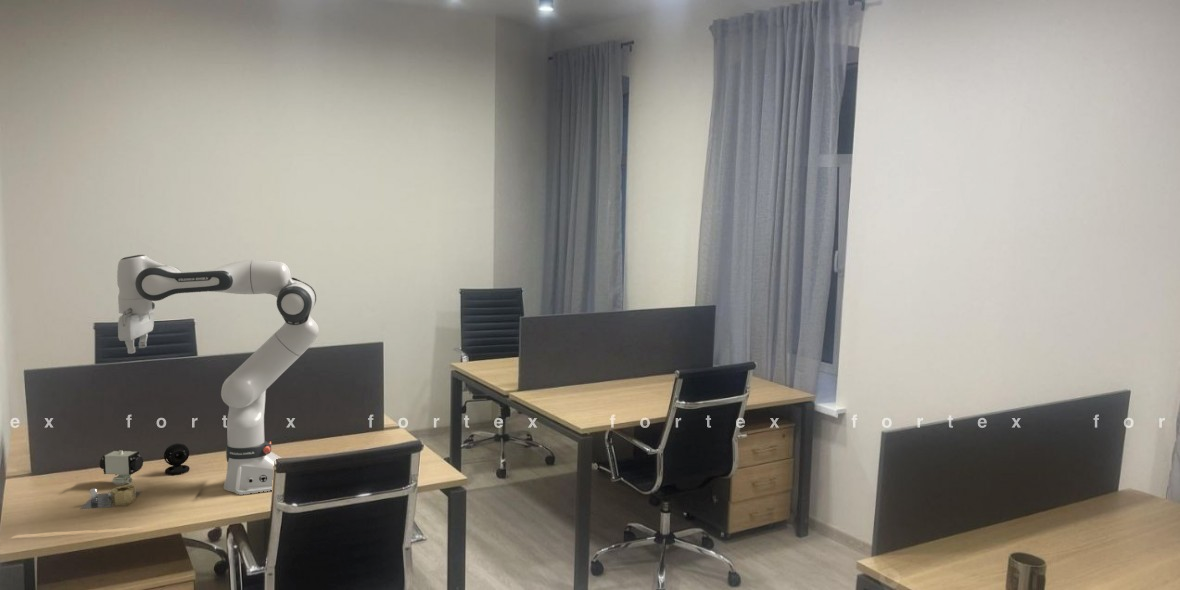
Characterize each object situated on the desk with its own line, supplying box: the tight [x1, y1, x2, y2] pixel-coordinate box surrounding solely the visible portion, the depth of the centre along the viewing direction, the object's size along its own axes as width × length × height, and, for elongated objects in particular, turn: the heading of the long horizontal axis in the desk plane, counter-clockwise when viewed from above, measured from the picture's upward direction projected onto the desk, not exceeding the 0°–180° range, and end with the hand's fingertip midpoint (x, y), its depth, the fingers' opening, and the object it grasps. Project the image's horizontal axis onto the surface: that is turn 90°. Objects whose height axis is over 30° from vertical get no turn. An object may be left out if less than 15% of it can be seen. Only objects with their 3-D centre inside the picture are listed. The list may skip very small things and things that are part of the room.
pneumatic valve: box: [99, 449, 144, 486], centre depth 246 cm, size 6×12×12 cm, turn 89°
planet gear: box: [110, 484, 137, 506], centre depth 230 cm, size 6×6×4 cm
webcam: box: [163, 443, 190, 476], centre depth 259 cm, size 8×8×10 cm
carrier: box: [79, 487, 142, 510], centre depth 231 cm, size 13×12×5 cm
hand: (137, 350), depth 237 cm, fingers open, 8 cm apart
